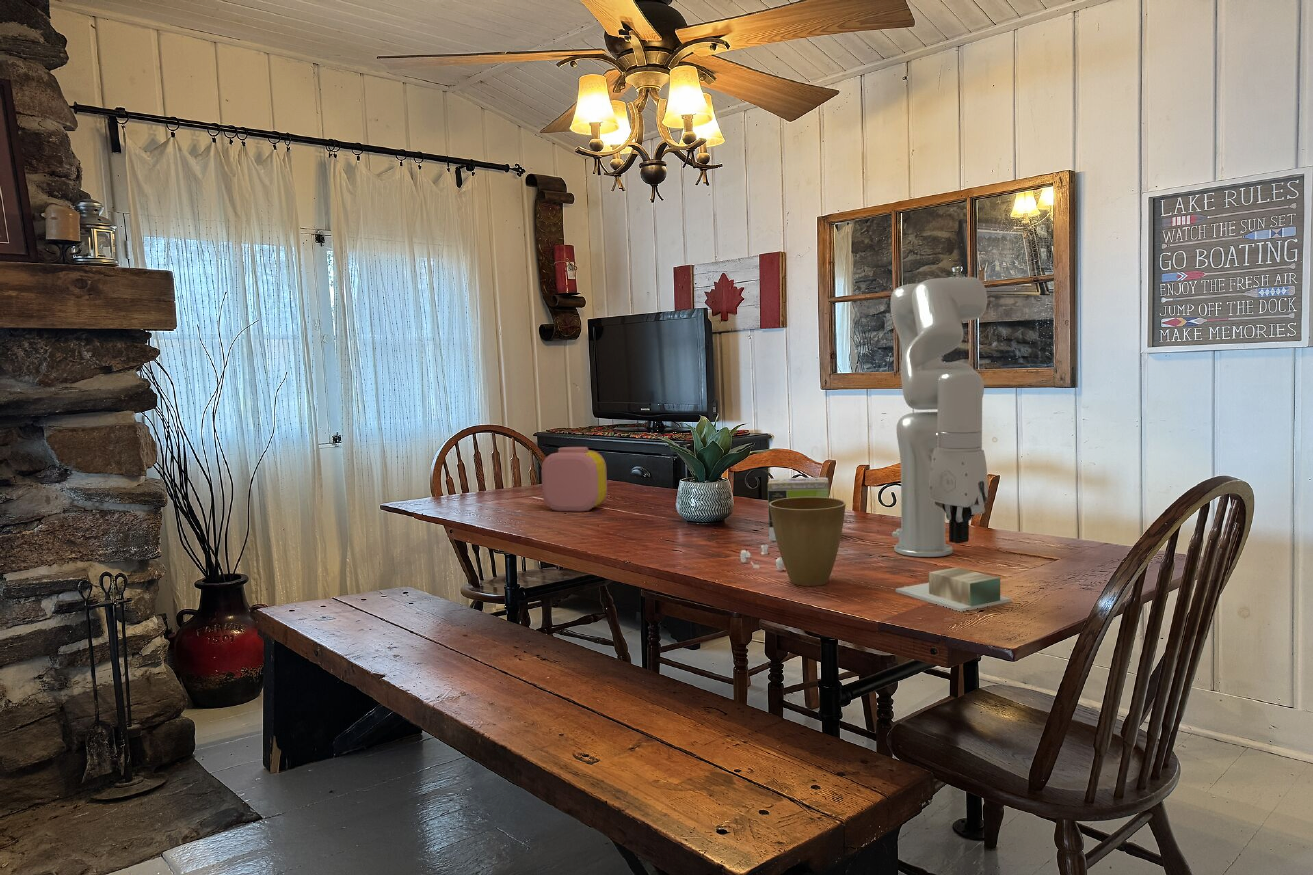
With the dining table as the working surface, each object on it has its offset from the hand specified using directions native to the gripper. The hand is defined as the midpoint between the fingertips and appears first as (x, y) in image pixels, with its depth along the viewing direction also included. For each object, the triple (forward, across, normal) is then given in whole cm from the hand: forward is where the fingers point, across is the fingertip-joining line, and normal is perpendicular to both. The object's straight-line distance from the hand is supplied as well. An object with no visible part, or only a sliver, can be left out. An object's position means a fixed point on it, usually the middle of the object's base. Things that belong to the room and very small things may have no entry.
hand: (958, 541), depth 156 cm
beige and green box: (+8, -3, -1) cm, 8 cm away
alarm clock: (+14, -137, -21) cm, 139 cm away
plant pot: (+11, -24, -16) cm, 31 cm away
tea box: (+12, -61, +9) cm, 63 cm away
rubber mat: (+10, -1, -1) cm, 10 cm away
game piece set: (+12, -42, -9) cm, 45 cm away
